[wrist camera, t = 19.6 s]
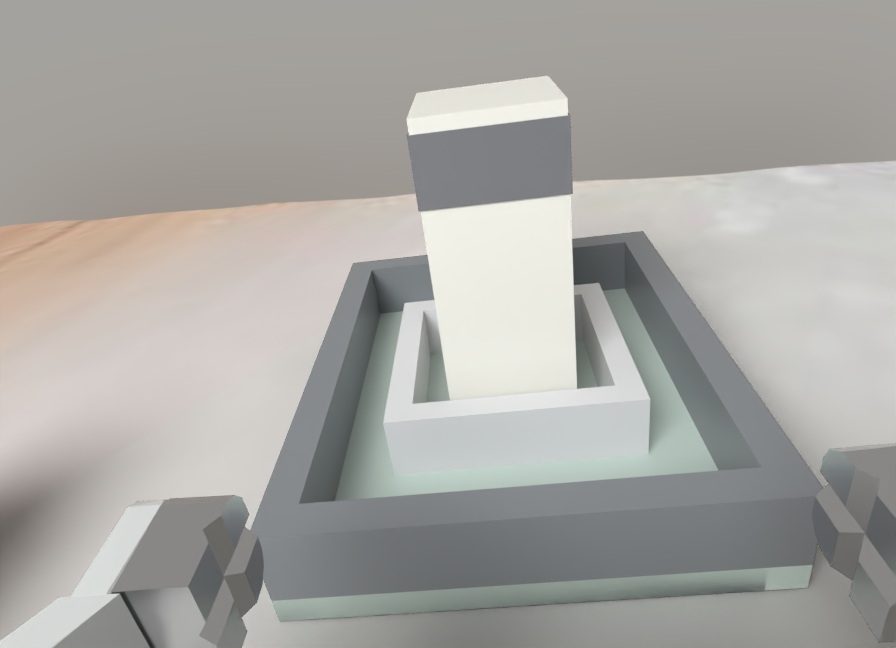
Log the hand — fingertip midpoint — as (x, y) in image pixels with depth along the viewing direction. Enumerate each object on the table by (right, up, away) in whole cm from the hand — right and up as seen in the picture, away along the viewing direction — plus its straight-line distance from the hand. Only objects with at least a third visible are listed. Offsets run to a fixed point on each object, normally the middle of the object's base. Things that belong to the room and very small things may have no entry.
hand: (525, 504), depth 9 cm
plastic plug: (+1, 0, +13) cm, 13 cm away
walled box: (+1, -1, +14) cm, 14 cm away
